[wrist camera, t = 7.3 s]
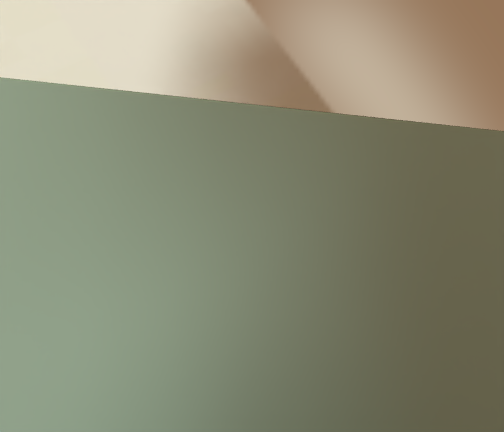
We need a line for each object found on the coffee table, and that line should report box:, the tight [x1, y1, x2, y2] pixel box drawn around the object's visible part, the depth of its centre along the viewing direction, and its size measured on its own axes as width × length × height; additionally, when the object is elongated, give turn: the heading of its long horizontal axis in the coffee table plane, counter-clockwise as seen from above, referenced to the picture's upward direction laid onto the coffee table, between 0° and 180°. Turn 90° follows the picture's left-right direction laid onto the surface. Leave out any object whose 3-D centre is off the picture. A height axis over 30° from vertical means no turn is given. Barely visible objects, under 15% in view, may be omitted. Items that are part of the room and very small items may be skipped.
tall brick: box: [0, 77, 504, 432], centre depth 8 cm, size 5×5×12 cm
